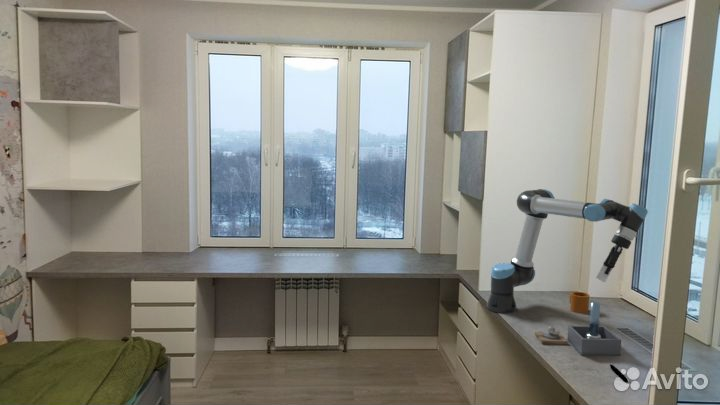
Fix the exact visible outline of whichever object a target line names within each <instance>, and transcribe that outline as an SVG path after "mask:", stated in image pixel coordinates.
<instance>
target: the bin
mask: <svg viewBox="0 0 720 405" xmlns="http://www.w3.org/2000/svg"><path fill="white" fill-rule="evenodd" d="M589 327H590V325H568V326H567V337H566V340H567V341H568V343H569V344H570V345H571V346H572V347H573V349H574V350H576V352H577V353H578V354H579V355H580V356H584V357H585V356H587V357H589V356H590V357H591V356H593V357H621V351H622V339H621V338H620V337H618V336H617V335H616V334H615V333H614V332H612V330H610V328H608V327H606V326H605V325H599V331H598V334H600V335H601V339H585V338H586V333H588V332H589Z"/></svg>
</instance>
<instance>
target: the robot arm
mask: <svg viewBox="0 0 720 405" xmlns="http://www.w3.org/2000/svg"><path fill="white" fill-rule="evenodd" d="M516 206H517V208H518V209H519V211H520V212H522V213H524V214H525V218H524V219H525V220H524V223H523V227H522V231H521V234H520V237H519V242H518V246H517V248H516V252H515V253H516V254H515V256H514V257H512V258H511V261H510V263H507V262H503V263H502V262H501V263H496V264H494V265H493V266H492V267H491V271H490V272H491V273H490V275H491V276H490V278H491V279H490V294H489V296H488V300H487V302H486V308H487V309H488V310H489V311H491V312H493V313H499V314H510V313H511V314H512V313H514V312H516V311H517V302H516V300H515V295H514V293H515V292H514V291H515V289H514V288H516V287H520V286H525V285H528V284H530V283H531V282H532V281H533V280H534V279H535V277H536V269H535V267H534V262H533V258H534V253H535V250H536V247H537V243H538V239H539V236H540V233H541V229H542V226H543V221H544V220H546V219H547V218H548V216H549V215H556V216H563V217H567V218H568V217H570V218H575V219H576V218H577V219H585V220H587V221H588V222H594V223H597V222H601V221H604V220H611V219H612V220H615V221H616V222H617V221H618V222H620V224H619V225H618V228H617V229H616V231H615V234H614V235H613V237H612V239H611V243H613V244H614V246H613V247H611V249H610V251H609V252H608V253H609V254H608V256H607V257H606V259H605V260H604V261H603V265H602V266H601V268H600V270H599V272H598V273H597V274H596V277H595V278H596V279H597V280H599V281H601V282H603V283H606V281H607V279H608V278H609V276H610V274H611V272H612V271H613V269H614V268H615V267H616V264H617V261H618V260H619V258H620V256H621V254H622V253H623V249H625V250H629V248H630V247H631V245H632V241H633V240H634V239H635V238H637V236H638V235H637V233H638V232H639V230H640V228H641V226H642V225H643V223H644V221H645V220H646V217H647V214H648V213H649V211H648V209H647V208H646V207H645V206H642V205H640V204H636V203H631V204H630V205H629V206H627V205H624V204H622V203H620V202H617V201H614V200H612V199H607V198H604V199H602V200H601V201H599V203H596V202H587V201H579V200H568V199H561V198H560V199H559V198H556V197H555V196H554V194H553V193H552V192H551V191H550V190H547V189H542V188H540V189H532V190H531V189H530V190H524V191H523V192H520V193H519V195H518V196H517V199H516Z"/></svg>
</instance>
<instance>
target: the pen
mask: <svg viewBox="0 0 720 405" xmlns="http://www.w3.org/2000/svg"><path fill="white" fill-rule="evenodd" d="M609 367H610V370H612V372H613V373H614V374H615V375H616V376H617V377H619V379H620V380H622V381H623V382H624V383H629V378H627V376H625V374H624V373H623V372H621V371H620V370H619V369H618V368H617V366H615V365H613V364H611V363H610V364H609Z"/></svg>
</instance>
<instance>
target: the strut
mask: <svg viewBox="0 0 720 405" xmlns="http://www.w3.org/2000/svg"><path fill="white" fill-rule="evenodd" d="M600 312H601V303H600V302H598V301H592V302H590V312H589V313H590V314H589V326H590V327H589V332H588V333H586V338H585V339H601V335H600V334H598V331H599V326H600Z"/></svg>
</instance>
